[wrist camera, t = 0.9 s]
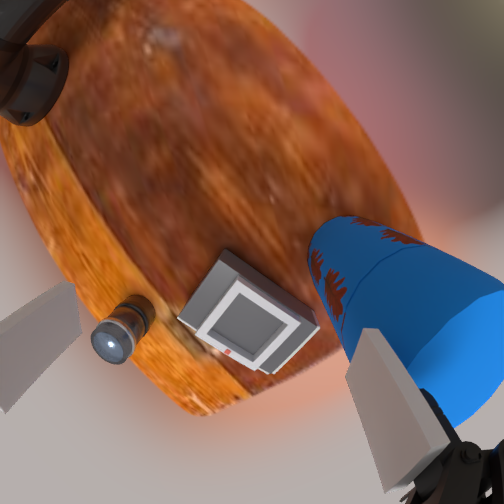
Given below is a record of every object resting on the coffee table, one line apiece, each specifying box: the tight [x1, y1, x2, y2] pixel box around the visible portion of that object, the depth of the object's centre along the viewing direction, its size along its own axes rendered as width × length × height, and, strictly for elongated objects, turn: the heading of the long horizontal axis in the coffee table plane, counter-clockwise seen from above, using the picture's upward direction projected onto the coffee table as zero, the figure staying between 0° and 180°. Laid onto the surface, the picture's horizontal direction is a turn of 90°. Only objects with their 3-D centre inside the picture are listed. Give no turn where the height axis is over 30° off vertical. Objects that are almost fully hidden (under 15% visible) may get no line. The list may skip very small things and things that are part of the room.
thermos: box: [307, 215, 504, 428], centre depth 22 cm, size 11×11×25 cm
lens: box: [91, 295, 155, 364], centre depth 32 cm, size 6×6×10 cm
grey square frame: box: [177, 249, 320, 374], centre depth 33 cm, size 15×10×7 cm, turn 54°
